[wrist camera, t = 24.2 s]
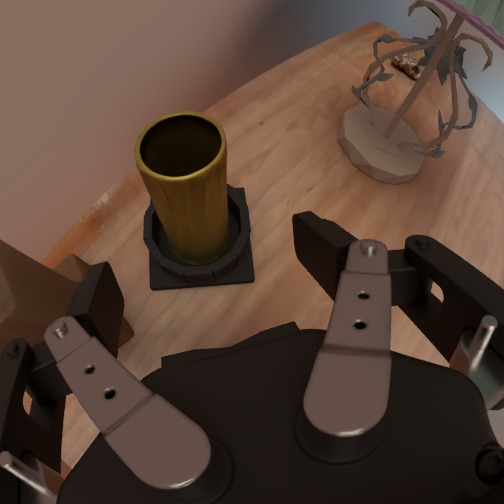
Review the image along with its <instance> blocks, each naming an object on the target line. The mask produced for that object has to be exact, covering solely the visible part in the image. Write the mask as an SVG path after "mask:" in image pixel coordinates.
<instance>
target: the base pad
mask: <svg viewBox="0 0 504 504" xmlns="http://www.w3.org/2000/svg"><path fill="white" fill-rule="evenodd" d="M227 206H228V225H229V229H230V242H229V245H228V247H227V249H226V251H225V252H224V254H223V255H222V256H221V257H220V258H219V259H217V260H216V261H214V262H212V263H210V264H207V265H202V266H195V265H190V264H186V263H184V262H182V261H181V260H179V259H178V258H177V257H176V256H175V255H174V254H173V253H172V251H171V250H170V247H169V243H168V237H167V233H166V231H165V230H164V228H163V226H162V224H161V222H160V220H159V217H158V215H157V212H156V209H155V206H154V204H153V201H152V199H151V200H150V206H149V207H148V209H147V211H146V212H145V214H146V215H144V234H143V239H144V242H145V244H146V246H147V247H148V249H149V272H150V289H152V290H164V289H178V288H192V287H204V286H217V285H229V284H240V283H251V282H254V280H255V278H254V269H253V260H252V252H251V243H250V231H251V228H250V220H249V211H248V206H247V204H246V201H245V192H244V188H233V187H230V185H229V184H227Z"/></svg>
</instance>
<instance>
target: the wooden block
mask: <svg viewBox="0 0 504 504" xmlns="http://www.w3.org/2000/svg"><path fill="white" fill-rule="evenodd" d="M90 267H91V266H90V265H89V264H87V263H86V262H84V261H83V260H81V259H80V258H79V257H77V256H76V255H74V254H70V255H69V256H68V257H67V258H65V259H64V260H63V261H62V262H61V263H60V264H59V265H58V266H56V267H55V268H54V269H53V270H51V269H50V268H48V267H46V266H44V265H42V264H41V263H39V262H37V261H35V260H34V259H32V258H30V257H28V256H27V255H25V254H23V253H21V252H20V251H18V250H16V249H15V248H13V247H11V246H10V245H8V244H7V243H5V242H3V241H2V240H0V354H1V352H2V350H3V349H4V347H5V346H6V345H7V344H8V343H9V342H11V341H12V340H14V339H17V338H24V339H25V340H26V341H27V343H28V344H29V345H30V347H32V346H34V345H36V344H39V343H41V342H43V341H45V339H44V333H45V331H46V329H47V328H48V327H49V325H50V324H52V323H53V322H54V321H56V320H57V319H59V318H62V317H64V316H65V313H66V310H67V308H68V306H69V303H70V302H71V298H72V296H73V294H74V291H75V289H76V287H77V286H78V285H79V283H80V282H81V281H82V280H83V279H85V278H86V276H87V273H88V271H89V269H90ZM133 335H134V332H133V330H132V328H131V327H130V326H129V324H128V323H127V321H126V320H125V318H124V317H122V324H121V331H120V338H119V346H118V348H119V347H120V346H121V345H123V344H124V343H125V342H126V341H128V340H129V339H130V338H131V337H132V336H133Z"/></svg>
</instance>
